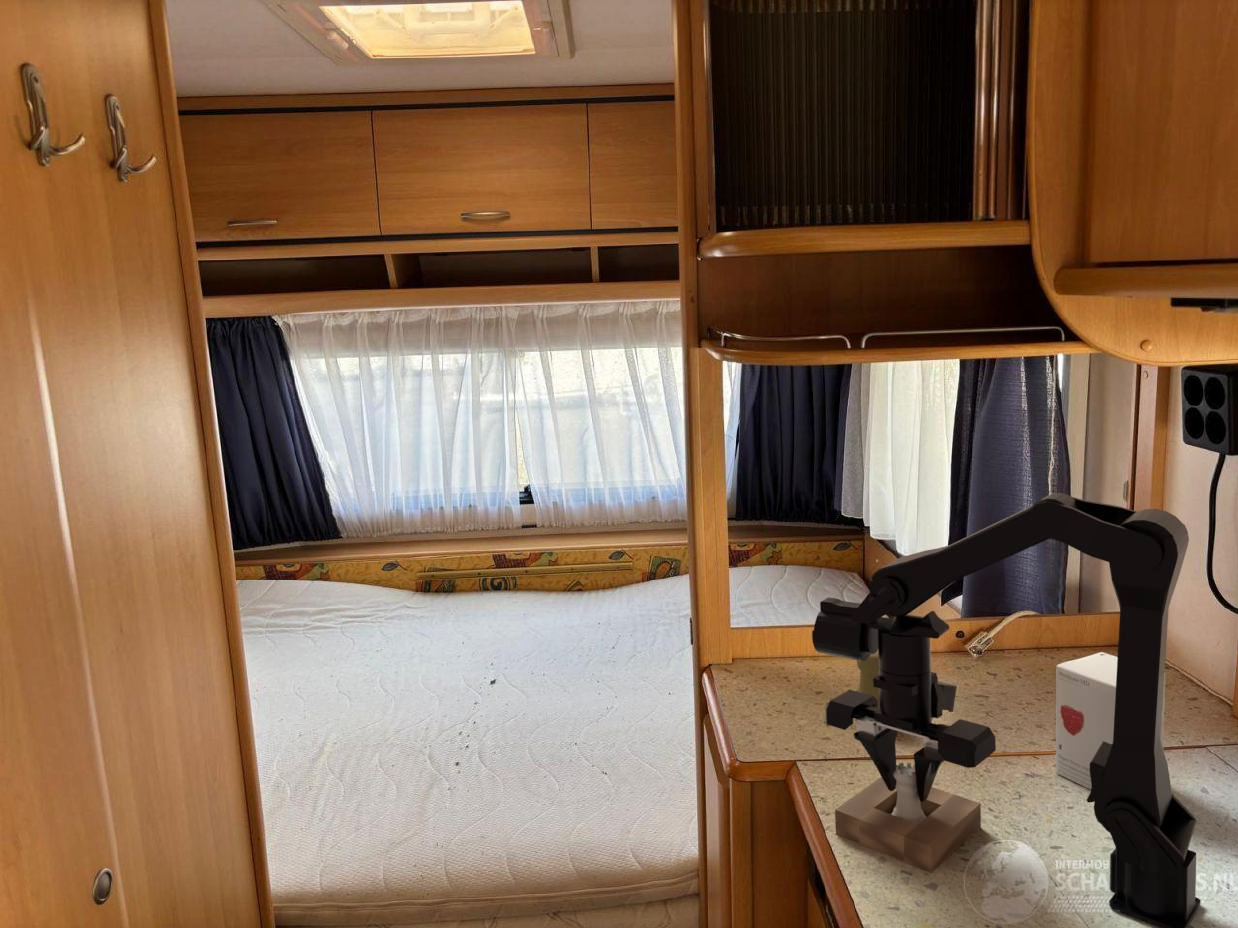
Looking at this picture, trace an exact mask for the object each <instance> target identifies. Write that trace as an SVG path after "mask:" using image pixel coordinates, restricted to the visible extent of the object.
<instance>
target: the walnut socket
mask: <svg viewBox="0 0 1238 928" xmlns="http://www.w3.org/2000/svg"><path fill="white" fill-rule="evenodd" d="M896 784H897V782H896ZM896 802H897V789H894V790H893V791H889V790H888V788H887V786H886V784H885V782H884V780H883V779H882V777H881V776H880V777H878V779H876V780H875V781H873V782H872V783H870V784H869V785H868V786H866V787H865V788H863V789H861V790H860V791H859V792H858V793H856V794H855V795H853V796H852V797H851V798H849V799H847V800H846V801H845V802H844V803H842V804H841V805H839V806H838V807H837V808H835V809H834V817H835V819H834V821H835V822H834V823H835V824H834V825H835V835H838V836H841V837H843V838H846V839H847V840H848V839H849V840H851V841H853V842H855V843H859V844H861V845H863V846H865V847H868V848H870V849H873V850H875V851H878V852H880V853H882V854H884V855H887V856H890V857H892V858H893V859H897V860H900V861H901V862H904V863H907V864H909V865H911V866H914V867H916V868H919V869H921V870H923V871H926V872H929V873H933V872H934V871H935V870H936V869H937V868H939V866H940V865H942V864H943V863H944V862H945V861H946V860H947V859H948V858H949V857H950V856H952V854H954V853H955V852H956V851H957V850H958V849H959V848H961V846H963V844H965V843H966V841H968V840H969V839H970V838H971V837H972V836H973V835H974V834H976V833H977V832H978V830H980V829H981V828H982V818H981V817H982V815H981V812H982V809H981V808H982V807H981V802H977V801H975V800H971V799H969V798H966V797H963V796H960V795H956V794H954V793H950V792H948V791H945V790H942V789H939V788H936V787H933V786H932V787H931V790H930V792H929V795H928V798H927V799H926V800H925V801H924V802H921V801H920V805H921V809H922V810H923V812H924V815H925V816H926V818H925V819H924V820H923V821H922V822H920V823H919V824H915V823H912V822H910V821H907V820H904V819H902V818H899V817H896V816H894V815H891V814H892V812H894V811H893V810H894V808H895V807H896Z"/></svg>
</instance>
